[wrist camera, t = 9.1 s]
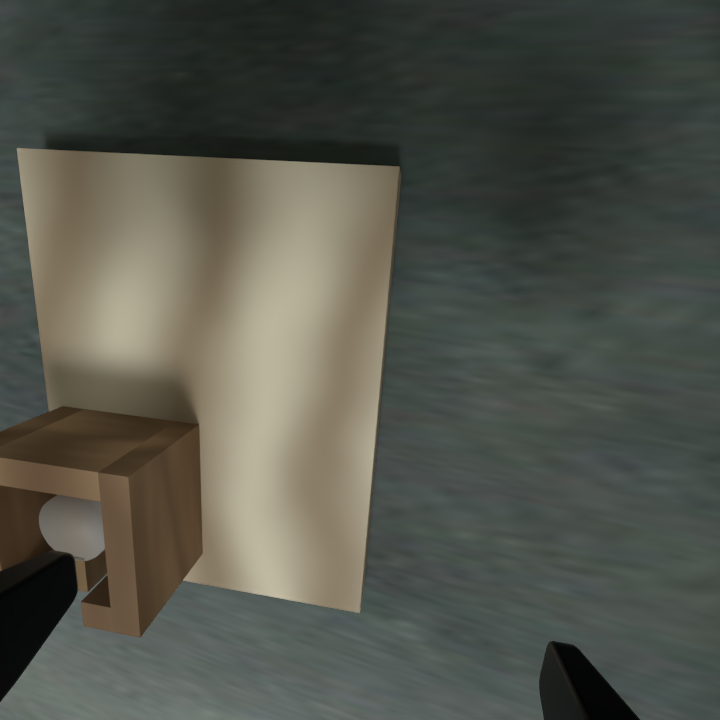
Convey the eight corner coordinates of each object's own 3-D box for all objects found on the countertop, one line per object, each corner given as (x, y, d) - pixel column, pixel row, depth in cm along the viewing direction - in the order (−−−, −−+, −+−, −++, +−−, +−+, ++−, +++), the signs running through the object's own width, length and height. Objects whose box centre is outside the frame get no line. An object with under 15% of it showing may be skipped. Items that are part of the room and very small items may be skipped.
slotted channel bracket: (199, 424, 18) (127, 477, 14) (202, 553, 20) (140, 637, 15) (62, 406, 19) (-46, 450, 14) (76, 531, 20) (-17, 605, 16)
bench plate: (401, 174, 16) (392, 138, 11) (364, 588, 20) (346, 689, 16) (49, 157, 18) (-90, 118, 13) (90, 539, 22) (-2, 616, 18)
